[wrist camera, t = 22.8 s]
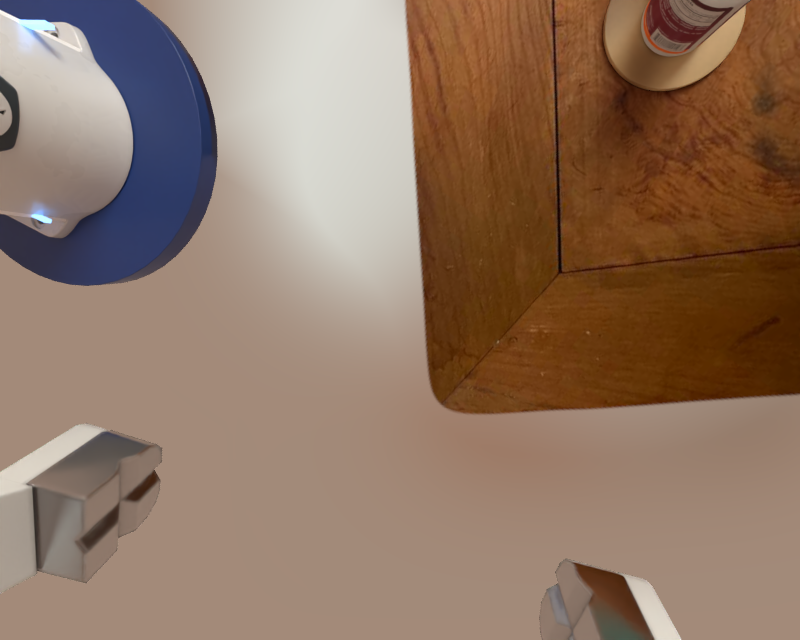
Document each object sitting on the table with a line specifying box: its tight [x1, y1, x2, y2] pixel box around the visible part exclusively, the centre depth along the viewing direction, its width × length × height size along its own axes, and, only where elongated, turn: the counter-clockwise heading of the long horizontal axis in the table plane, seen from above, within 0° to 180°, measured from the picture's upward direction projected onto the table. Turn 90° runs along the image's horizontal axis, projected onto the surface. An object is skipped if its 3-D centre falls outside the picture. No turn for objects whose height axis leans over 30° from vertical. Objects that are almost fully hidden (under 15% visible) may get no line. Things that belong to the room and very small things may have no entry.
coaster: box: [603, 0, 746, 91], centre depth 28 cm, size 9×9×1 cm
